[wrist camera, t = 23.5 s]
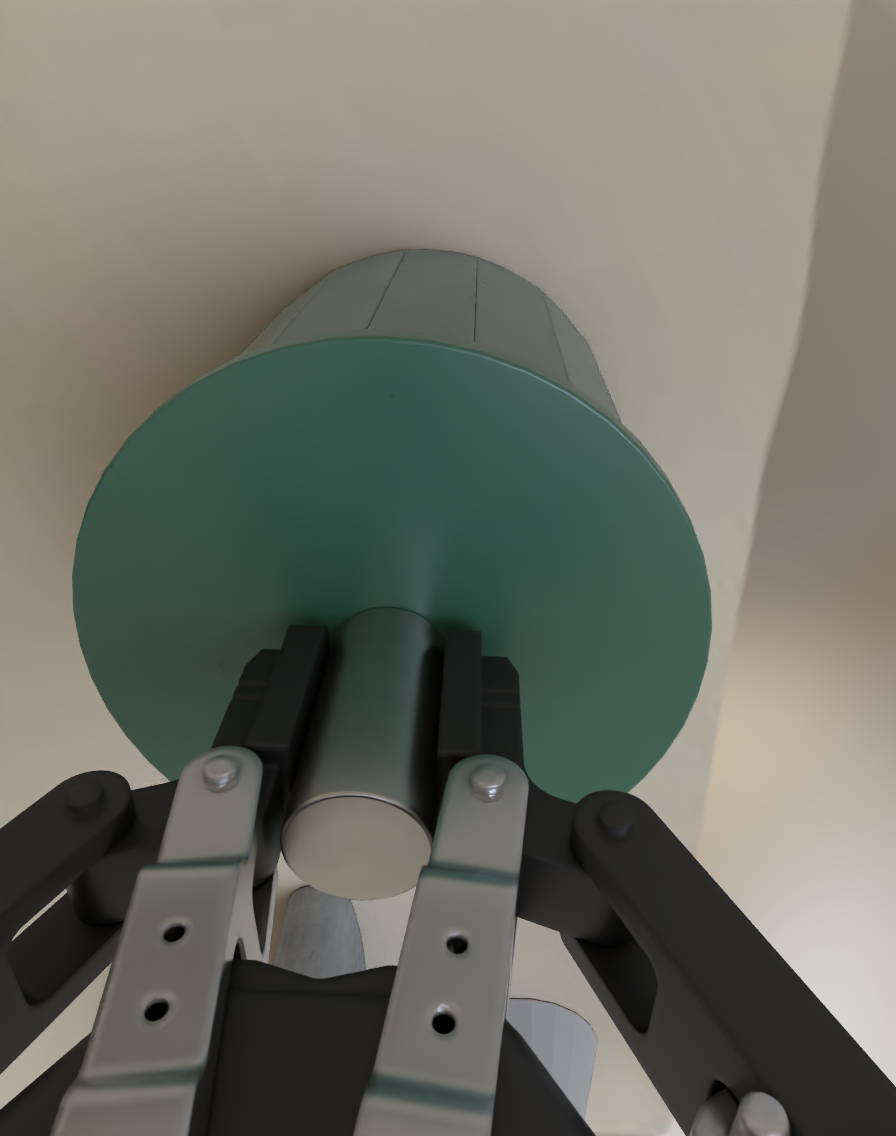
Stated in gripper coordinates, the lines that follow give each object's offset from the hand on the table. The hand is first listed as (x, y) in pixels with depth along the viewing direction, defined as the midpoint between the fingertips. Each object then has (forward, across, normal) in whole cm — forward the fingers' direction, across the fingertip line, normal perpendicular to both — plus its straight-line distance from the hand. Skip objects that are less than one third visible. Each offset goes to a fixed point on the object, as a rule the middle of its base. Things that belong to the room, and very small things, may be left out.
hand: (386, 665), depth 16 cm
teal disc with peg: (+1, 0, 0) cm, 1 cm away
